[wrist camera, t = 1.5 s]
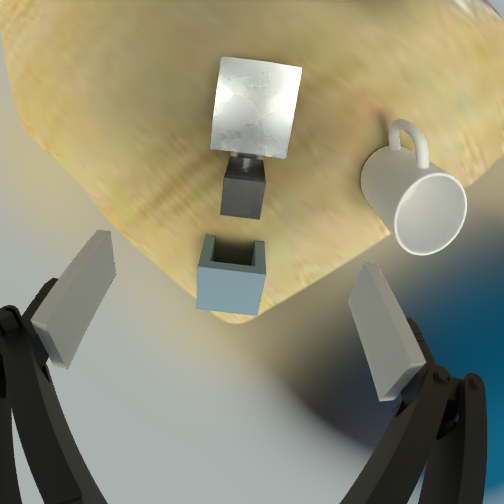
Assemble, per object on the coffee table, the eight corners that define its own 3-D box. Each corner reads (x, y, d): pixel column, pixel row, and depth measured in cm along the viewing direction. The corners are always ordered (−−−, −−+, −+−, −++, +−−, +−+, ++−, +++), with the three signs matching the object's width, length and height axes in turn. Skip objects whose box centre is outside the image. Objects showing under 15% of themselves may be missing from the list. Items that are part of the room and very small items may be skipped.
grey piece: (243, 62, 24) (239, 53, 16) (277, 67, 24) (288, 60, 16) (225, 201, 32) (215, 247, 24) (254, 205, 32) (254, 252, 24)
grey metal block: (227, 61, 24) (221, 56, 19) (292, 70, 25) (302, 67, 20) (218, 135, 29) (209, 148, 24) (279, 143, 29) (285, 158, 24)
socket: (206, 234, 35) (197, 266, 30) (264, 241, 36) (266, 274, 30) (203, 274, 38) (196, 308, 33) (256, 280, 39) (257, 315, 34)
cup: (362, 215, 34) (394, 264, 25) (347, 117, 27) (386, 136, 19) (420, 202, 32) (463, 244, 24) (413, 108, 26) (467, 126, 18)
